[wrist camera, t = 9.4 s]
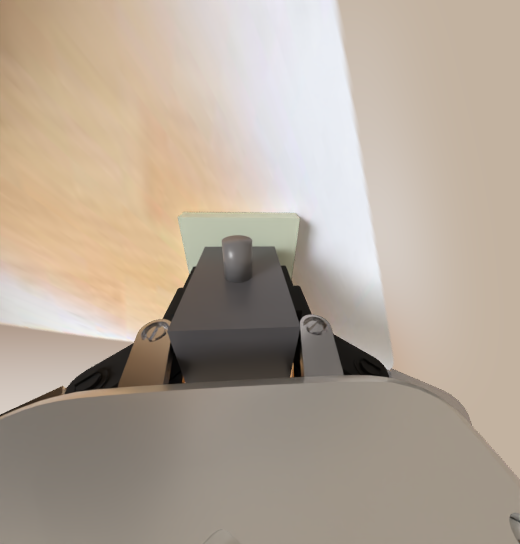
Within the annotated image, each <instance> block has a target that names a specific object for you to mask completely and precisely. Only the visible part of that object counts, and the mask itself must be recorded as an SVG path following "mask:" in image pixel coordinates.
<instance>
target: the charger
mask: <svg viewBox="0 0 520 544" xmlns="http://www.w3.org/2000/svg"><path fill="white" fill-rule="evenodd" d="M299 331H300V324H299V321H298V318H297V315H296V311H295V308H294V305H293V302H292V299H291V296H290V293H289V290H288V287H287V284H286V280H285V277H284V274H283V271H282V268H281V265H280V262H279V259H278V256H277V253H276V249H275V246H252V239H251V238H250V237H247V236H242V235H233V236H228V237H225V238H223V239H222V247H205V248H204V250H203V252H202V254H201V257H200V259H199V261H198V263H197V265H196V268H195V270H194V272H193V274H192V277H191V279H190V281H189V283H188V285H187V288H186V290H185V292H184V294H183V297H182V299H181V301H180V303H179V306H178V308H177V310H176V312H175V314H174V317H173V319H172V321H171V323H170V326H169V328H168V330H167V333H168V336H169V338H170V341H171V344H172V347H173V350H174V352H175V355H176V358H177V361H178V364H179V366H180V369H181V372H182V375H183V377H184V380H185V383H198V382H216V381H234V380H253V379H272V378H290V374H291V369H292V365H293V360H294V355H295V350H296V345H297V341H298V336H299Z"/></svg>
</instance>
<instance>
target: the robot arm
mask: <svg viewBox="0 0 520 544" xmlns="http://www.w3.org/2000/svg"><path fill="white" fill-rule="evenodd" d="M195 268H196V266H195V267H193V268H192V270H191V272H190V275H189V277H188V279H187V281H186V283H185V285H184V287H183V288H179V289H178V290H177V292H176V294H175V296H174V298H173V300H172V302H171V303H170V305H169V307H168V309H167V311H166V313H165V315H164V317H163V319H158V320H154V321H151V322H149V323H147V324H146V325H144V326H143V327H142V328H141V329H140V330H139V332H138V334H137V336H136V339H135V341H134V343H133V344H131V345H130V346H128V347H126V348H124V349H123V350H121V351H119V352H117V353H116V354H114V355H112V356H111V357H109V358H107V359H105V360H104V361H102V362H100V363H99V364H97V365H95V366H94V367H91V368H90V369H88V370H86V371H85V372H83V373H82V374H80V375H79V376H78V377H76V378H75V379H74V380H73V381H72V382H71V383H70V385H69V386H68V387H67V388H64V387H63V386H62V387H59V388H57V389H55V390H53V391H51V392H49V393H46V394H44V395H42V396H40V397H38V398H35V399H33V400H31V401H29V402H27V403H25V404H22V405H20V406H18V407H16V408H14V409H12V410H9V411H7V412H5V413H3V414H1V415H0V544H520V480H519V478H518V477H517V476H516V475H515V474H514V472H513V471H512V470H511V469H510V468H509V467H508V465H507V464H506V463H505V462H504V461H503V460H502V458H501V457H500V456H499V455H498V454H497V453H496V452H495V450H494V449H492V447H491V446H490V445H489V444H488V443H487V442H486V440H485V439H484V438H483V437H482V436H481V435H480V434H479V433H478V432H477V431H476V430H475V429H474V428H473V426H472V424H471V421H470V418H469V415H468V413H467V412H466V410H465V408H464V407H463V405H462V404H461V403H460V402H459V401H458V400H457V399H456V398H454V397H453V396H452V395H450V394H449V393H447V392H445V391H443V390H441V389H439V388H436V387H434V386H432V385H429V384H427V383H424V382H422V381H420V380H417V379H415V378H413V377H410V376H408V375H405V374H403V373H401V372H398V371H396V370H394V369H390V371H389V370H387V369H386V368H385V367H384V365H383V364H382V363H381V362H380V361H379V360H377V359H376V358H374V357H373V356H371V355H369V354H367V353H366V352H364V351H362V350H360V349H359V348H357V347H355V346H353V345H352V344H350V343H348V342H346V341H344V340H343V339H341V338H339V337H337V336H336V335H334V334H333V332H332V329H331V326H330V324H329V323H328V321H327V320H325V319H324V318H323V317H320V316H318V315H312V314H311V312H310V309H309V307H308V305H307V302H306V300H305V297H304V295H303V293H302V290H301V288H300V286H293V284H292V281H291V278H290V276H289V273H288V270H287V268H286V266H281V268H282V271H283V274H284V277H285V280H286V284H287V287H288V290H289V293H290V296H291V299H292V302H293V305H294V308H295V311H296V315H297V318H298V321H299V324H300V331H299V336H298V341H297V345H296V350H295V355H294V360H293V365H292V378H272V379H253V380H234V381H216V382H198V383H185V380H184V377H183V375H182V372H181V369H180V366H179V364H178V361H177V358H176V355H175V352H174V350H173V347H172V344H171V341H170V338H169V336H168V333H167V330H168V328H169V326H170V323H171V321H172V319H173V317H174V314H175V312H176V310H177V308H178V306H179V303H180V301H181V299H182V297H183V294H184V292H185V290H186V288H187V285H188V283H189V281H190V279H191V277H192V274H193V272H194V270H195Z"/></svg>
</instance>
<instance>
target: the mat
mask: <svg viewBox="0 0 520 544" xmlns="http://www.w3.org/2000/svg"><path fill="white" fill-rule="evenodd" d="M178 221H179V226H180V231H181V236H182V241H183V245H184V250H185V255H186V260H187V265H188V270H189V274H190V272H191V270H192V268H193V267H195V266H196V265H197V263H198V261H199V259H200V257H201V254H202V252H203V250H204V248H205V247H222V239H223V238H225V237H228V236H233V235H242V236H247V237H250V238H251V239H252V246H275V249H276V253H277V256H278V259H279V262H280V265H281V266H286V268H287V270H288V273H289V276H290V278H291V279H292V272H293V265H294V258H295V251H296V244H297V237H298V229H299V222H300V218H299V217H298V215H297V214H296V213H237V212H183V213H182V214H181V215H180V216H179V217H178Z"/></svg>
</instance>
